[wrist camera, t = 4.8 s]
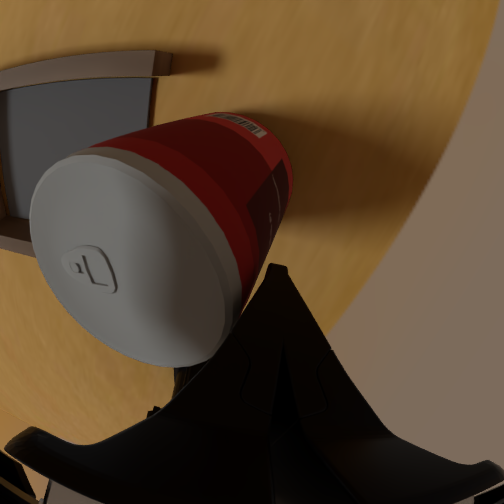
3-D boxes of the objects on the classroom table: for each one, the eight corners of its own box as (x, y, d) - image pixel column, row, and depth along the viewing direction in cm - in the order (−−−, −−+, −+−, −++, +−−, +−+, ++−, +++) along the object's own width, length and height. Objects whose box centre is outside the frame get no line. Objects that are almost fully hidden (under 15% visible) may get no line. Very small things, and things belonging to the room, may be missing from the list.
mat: (145, 237, 21) (143, 239, 20) (12, 214, 20) (10, 216, 19) (153, 78, 14) (151, 78, 14) (0, 91, 13) (-2, 92, 13)
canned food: (152, 137, 17) (5, 203, 8) (270, 91, 14) (155, 92, 5) (195, 242, 20) (98, 361, 11) (310, 218, 17) (272, 374, 8)
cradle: (158, 257, 22) (146, 282, 19) (0, 226, 20) (-18, 243, 18) (172, 53, 14) (155, 50, 11) (-14, 77, 12) (-39, 84, 10)
